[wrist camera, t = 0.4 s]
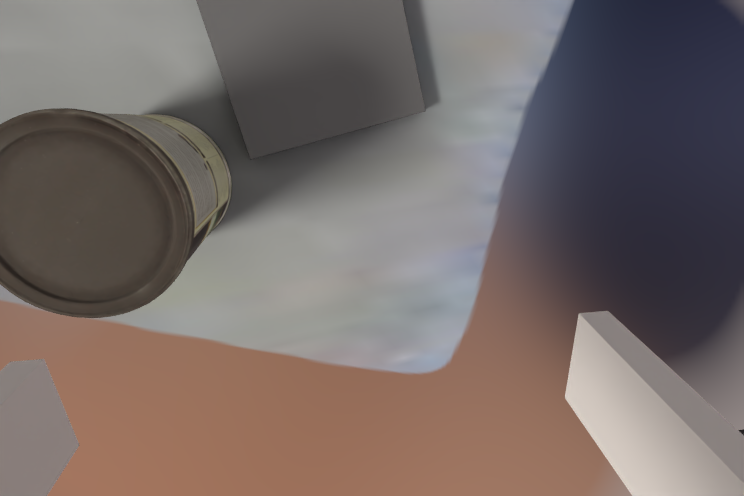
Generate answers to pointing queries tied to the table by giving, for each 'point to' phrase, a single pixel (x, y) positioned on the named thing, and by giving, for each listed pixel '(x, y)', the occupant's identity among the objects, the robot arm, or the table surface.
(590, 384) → the robot arm
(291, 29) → the mat
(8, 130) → the coffee can
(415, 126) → the table surface
